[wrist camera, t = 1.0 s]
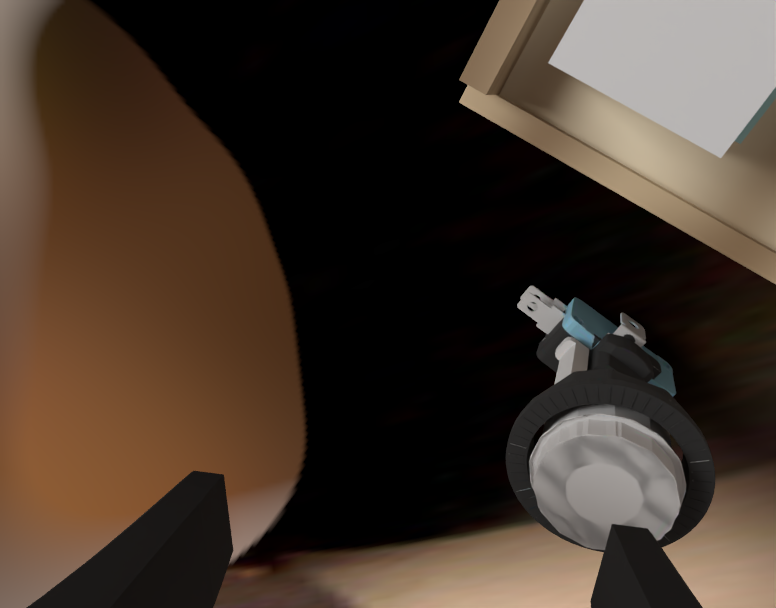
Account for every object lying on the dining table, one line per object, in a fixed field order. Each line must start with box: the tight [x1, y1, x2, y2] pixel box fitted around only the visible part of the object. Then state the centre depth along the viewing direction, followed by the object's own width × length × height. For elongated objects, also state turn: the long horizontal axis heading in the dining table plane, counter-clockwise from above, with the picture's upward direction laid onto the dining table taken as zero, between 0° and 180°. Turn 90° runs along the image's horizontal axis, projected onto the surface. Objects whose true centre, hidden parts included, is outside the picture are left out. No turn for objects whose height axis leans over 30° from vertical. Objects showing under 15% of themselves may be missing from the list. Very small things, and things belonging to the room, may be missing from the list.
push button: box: [506, 286, 715, 552], centre depth 20 cm, size 7×5×10 cm
